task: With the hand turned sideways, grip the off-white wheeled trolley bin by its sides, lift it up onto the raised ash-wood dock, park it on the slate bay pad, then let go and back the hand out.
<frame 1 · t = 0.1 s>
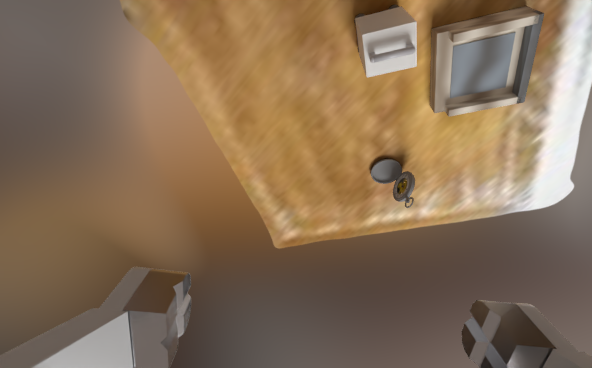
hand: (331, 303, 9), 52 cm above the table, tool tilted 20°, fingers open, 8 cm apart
dock: (473, 60, 55), on the table
pocket watch: (389, 171, 71), on the table
trolley: (377, 29, 52), on the table
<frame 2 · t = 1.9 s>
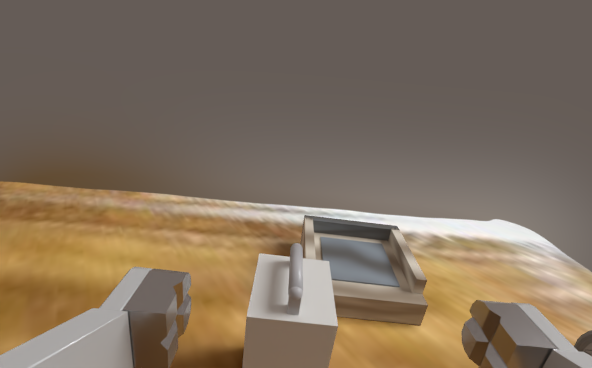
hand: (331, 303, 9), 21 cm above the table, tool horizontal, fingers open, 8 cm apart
dock: (351, 278, 43), on the table
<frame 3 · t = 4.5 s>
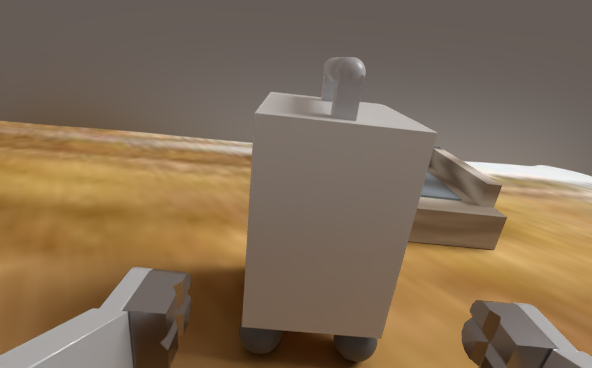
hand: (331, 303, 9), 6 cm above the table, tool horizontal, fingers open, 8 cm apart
dock: (387, 204, 32), on the table
trolley: (304, 309, 18), on the table
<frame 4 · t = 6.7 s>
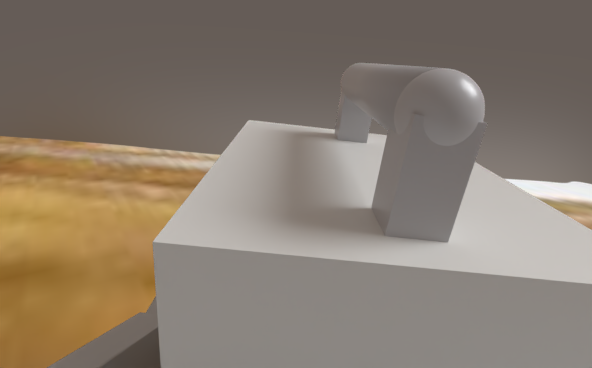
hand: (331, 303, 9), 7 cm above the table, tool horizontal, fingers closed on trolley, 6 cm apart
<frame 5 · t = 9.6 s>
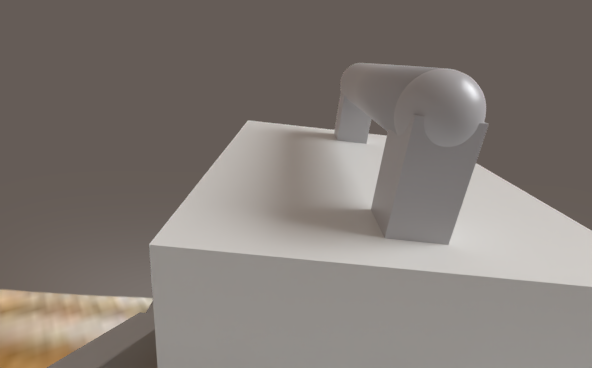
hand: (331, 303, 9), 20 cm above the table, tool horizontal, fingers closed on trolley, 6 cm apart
when the fingers open (11 cm above the table, at t = 12.5 s): trolley drops 1 cm, resting on dock.
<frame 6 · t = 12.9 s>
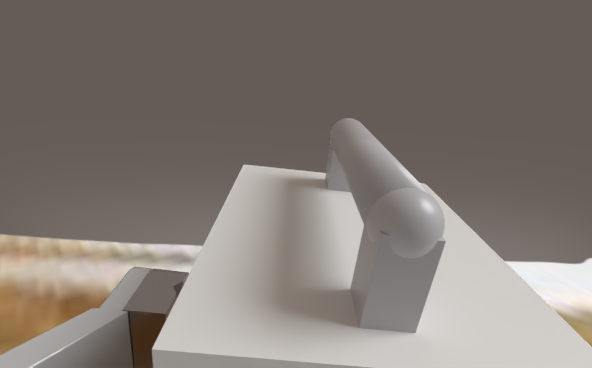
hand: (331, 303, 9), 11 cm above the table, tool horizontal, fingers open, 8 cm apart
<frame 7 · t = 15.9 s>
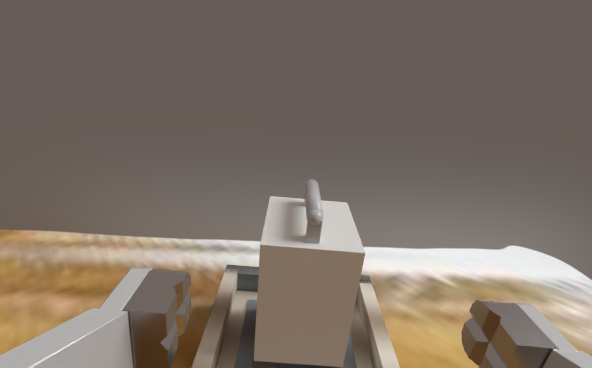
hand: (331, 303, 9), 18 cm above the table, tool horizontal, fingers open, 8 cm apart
trolley: (295, 343, 25), point 3 cm above the table, touching dock
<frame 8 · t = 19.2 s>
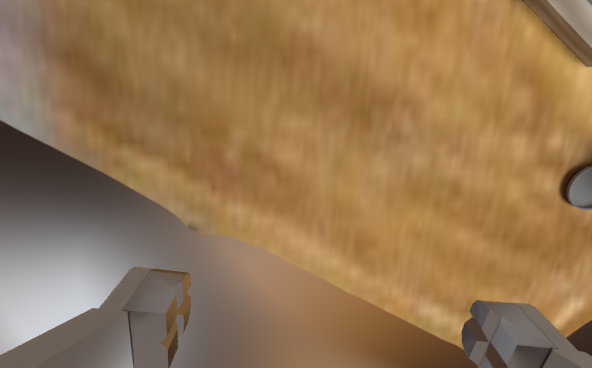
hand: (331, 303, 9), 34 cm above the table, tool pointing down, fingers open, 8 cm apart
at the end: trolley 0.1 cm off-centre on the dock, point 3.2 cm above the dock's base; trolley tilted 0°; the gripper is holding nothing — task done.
